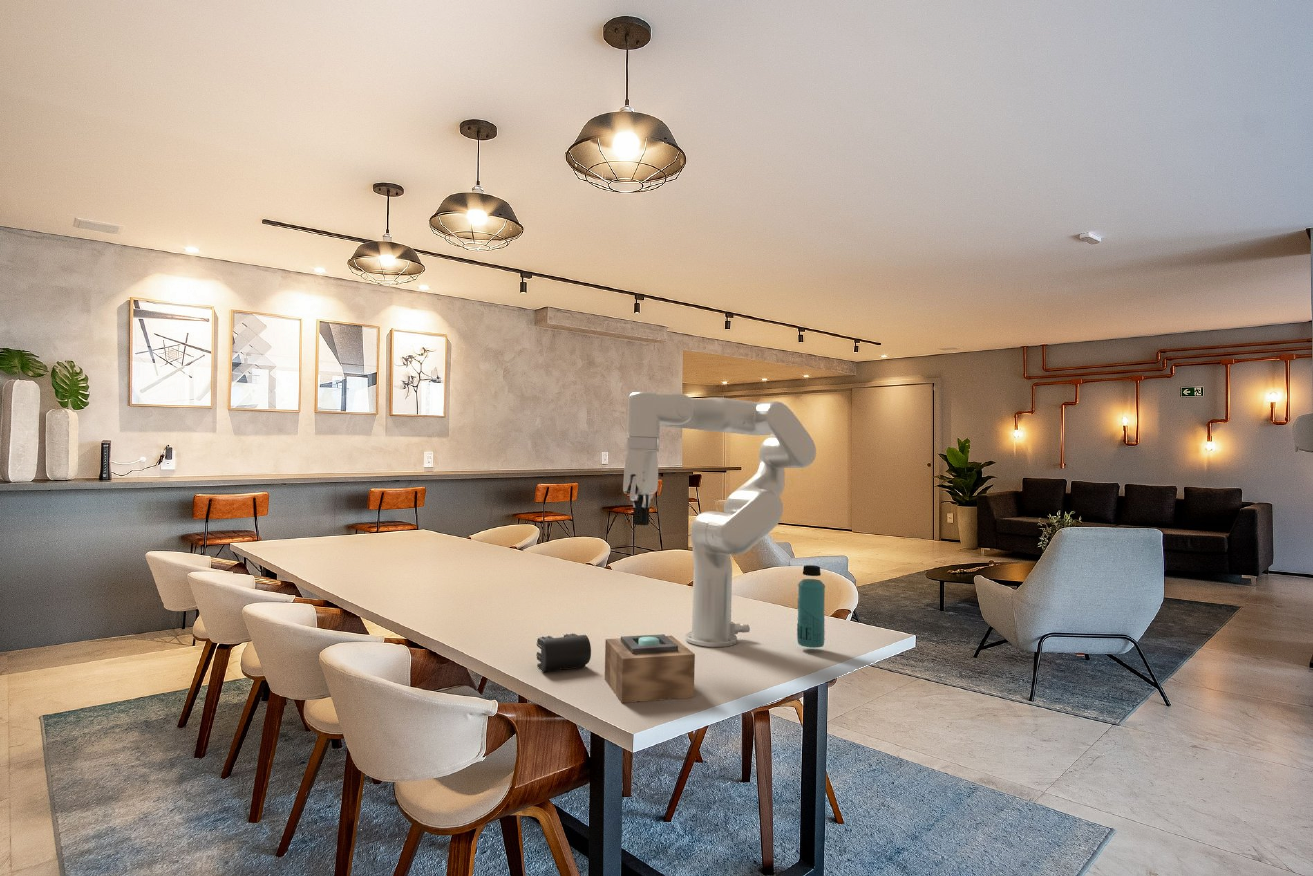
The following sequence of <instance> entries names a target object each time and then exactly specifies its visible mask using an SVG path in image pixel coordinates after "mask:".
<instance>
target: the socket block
mask: <svg viewBox="0 0 1313 876" xmlns="http://www.w3.org/2000/svg"><path fill="white" fill-rule="evenodd" d="M641 637H656V638H658V639H659V645H644V646H639V638H641ZM604 643H605V645H604V646H605V649H604V650H605V651H604V655H605V656H604V680H605V682H606V684H608V687H610V689H611V690H612V692H613V693H614V695H615V694H616V695H615V696H616V698H617V699H618V698H619V699H618V700H619V701H621V702H620V703H621V704H625V703H626V704H627V703H637V701H641V702H651V701H650V700H653V701H661V700H660V699H665V700H670V699H669V698H678V699H687V698H688V699H689V697H690V698H694V697H695V673H696V672H695V667H696V666H695V664H696V654H695V653H694V652H693V651H691V650H690V649H689V648H688V647H687V646H685V645H684V644H683V643H682V642H680V641H679V640H678V639H676V638H675V637H674V636H673V635H665V634H663V633H662V634H646V635H645V634H644V635H628V636H627V635H626V636H620V638H605V642H604Z"/></svg>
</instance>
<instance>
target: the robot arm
mask: <svg viewBox="0 0 1313 876" xmlns="http://www.w3.org/2000/svg"><path fill="white" fill-rule="evenodd" d="M661 427H666V428H677V429H689V430H699V431H705V432H716V433H718V432H719V433H726V434H727V433H729V434H738V435H747V436H769V437H767V438H765V440H763V441H762V443H761V444H760V447H759V451H758V461H759V462H758V468H757V471H756V473H754V475H752V477H750V478H749V479H748V480H747V481H745V482H743V484H742V485H741V486H739V487H738V488H737V489H735V490H734V491H733V492H732V493H731V494H730V495H729V496H727V498H726V500H725V502H724V505H723V511H724V512H721V511H714V510H712V511H711V510H710V511H709V510H708V511H703V512H701V513H699V514H698V515H697V516H696V517H695V518H694V519H693V521H692V522H691V527H690V541H691V542H690V543H691V548H692V556H693V559H692V560H693V574H692V575H693V577H692V578H693V579H692V580H693V581H692V583H693V584H692V585H693V586H692V618H691V619H692V621H691V622H692V623H691V624H692V625H691V626H692V627H691V631H689V632H687V633H686V634H685V640H686V642H688V643H690V644H692V645H694V646H695V645H696V646H700V647H707V648H708V647H709V648H710V647H711V648H722V647H729V646H732V645H735V644H737V642H738V637H737V635H738V633H742V634H743V633H750V629H751V628H750V625H749V623H747V624H741V623H740V622H739V623H735V622H734V621H732V604H733V603H732V602H733V601H732V600H733V599H732V597H733V596H732V595H733V590H732V589H733V564H732V560H731V555H732V556H739V555H743V554H745V553H746V552H748V551H750V550H751V549H752V548H753V547H754V546H755V545H756V544H758V543H759V542H760V541H761V540H762V539H764V538H765V537H766V536H767V535H768V534H769V533H770V532H771V531H773V530H774V529H775V528H776V527H777V526H778V524H779V522H780V521H781V519H782V517H783V512H784V504H783V501H782V499H781V497H780V496H781V495H782V494H783V493H784V490H785V486H786V482H785V480H786V479H785V477H786V476H785V475H786V474H785V469H805V468H807V467H809V466H810V465H812V464H813V463H814V461H815V459H816V456H817V448H816V444H815V441H814V440H813V438H812V437H811V435H810V434H809V432H808V431H807V430H806V428H805V427H804V425H803V424H802V422H801V420H799V418H798V417H797V416H796V414H794V412H793V411H792V410H791V409H790V408H789V406H787V405H786V404H785V403H783V402H782V401H778V400H774V401H760V402H758V401H749V400H741V399H733V398H727V397H708V398H706V397H705V398H691V397H690V396H688V395H686V394H684V393H682V392H681V393H680V392H673V393H671V392H670V393H656V392H652V391H635V392H631V393H630V394H629V396H628V399H627V428H626V429H627V430H626V431H627V432H626V433H627V434H626V436H627V437H626V455H625V461H624V470H623V484H622V485H623V487H622V490H623V493H624V494H626V495H629V499H630V501H632V506H633V525H634V526H648V525H650V507H651V499H653V498H654V494H655V493H656V492H658V488H659V462H658V461H659V458H658V453H659V452H660V433H661V431H660V428H661Z"/></svg>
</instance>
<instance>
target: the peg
mask: <svg viewBox="0 0 1313 876" xmlns="http://www.w3.org/2000/svg"><path fill="white" fill-rule="evenodd" d="M644 645H659V639H658V638H656V637H641V638H639V646H644Z"/></svg>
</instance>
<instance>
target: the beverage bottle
mask: <svg viewBox="0 0 1313 876" xmlns="http://www.w3.org/2000/svg"><path fill="white" fill-rule="evenodd" d="M821 573H822V572H821V567H820V566H819V565H815V564H814V565H812V564H810V565H809V564H807V565H803V569H802V575H804V576H807V577H808V576H810V577H820V576H821ZM797 587H798V590H797V591H798V597H797V619H796V620H797V624H796V625H797V627H796V631H797V632H796V633H797V634H796V636H797V637H796V638H797V643H798V645H799V646H801V647H806V648H813V649H815V648H816V649H817V648H823V647H824V646H825V595H826V594H825V593H826V592H825V591H826V590H825V588H826V585H825V583H823V582H822V581H821V580H820V579H816V578H804V579H802V580H800V581H799V582H798V584H797Z"/></svg>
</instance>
